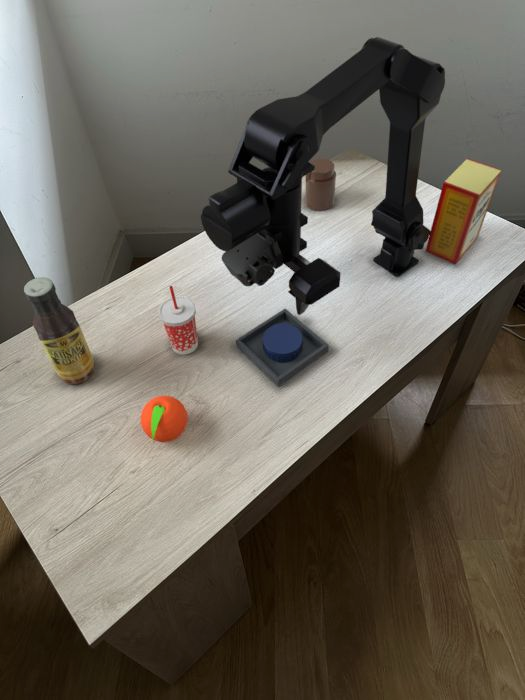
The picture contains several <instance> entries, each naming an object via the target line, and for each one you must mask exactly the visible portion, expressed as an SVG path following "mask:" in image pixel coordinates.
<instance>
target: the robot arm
mask: <svg viewBox="0 0 525 700" xmlns="http://www.w3.org/2000/svg"><path fill="white" fill-rule="evenodd" d="M445 85H446V71H445V67H444V66H442V65H441V63H439V62H437V61H433V60H430V59H427V58H424V57H421V56H419V55H416V54H413V53H411V51H410V50H408V49H406V48H405V46H404V45H403V44H401V43H397V42H395V41H391V40H389V39H385V38H382V37H379V36H376V37H371V38H368V39H367V40H366V41H365V42H364V43H363V46H362V48H361V49H360V50H359V51H358V52H356V53H355V54H353V55H352V56H351V57H350V58H348V59H347V60H346V61H344V62H343V63H342V64H340V65H339V66H338V67H336V68H335V69H334V70H332V71H331V72H330V73H328V74H327V75H326V76H325V77H323V78H321V80H319V81H318V82H316V83H315V84H314V85H313V86H311V87H310V88H309V89H307V90H306V91H305V92H302V93H300V94H298V95H297V96H296V95H295V96H289V97H284V98H278V99H275V100H274V101H272V102H269V103H267V104H265V105H264V106H261V107H260V108H258V109H257V110H255V111H254V112H253V113H252V114H251V115H250V116H249V118H248V119H247V121H246V124H245V128H244V130H243V133H242V136H241V138H240V140H239V142H238V145H237V148H236V150H235V152H234V155H233V158H232V161H231V163H230V166H229V167H228V171H227V172H228V174H229V175H231V176H233V177H235V178H236V183H234V184H233V185H231V186H229V187H227V188H225V189H223V190H220V191H217V192H215V193H213V194H211V195H209V197H208V203H209V204H207V205H205V206H204V207H203V208H202V211H201V215H200V221H201V225H202V227H203V230H204V232H205V234H206V235H207V237H208V239H209V240H210V241H211V243H212V244H213V245H214V246H215V247H216V248H217V249H219V250H221V251H223V253H222V255H221V261H222V263H223V264H224V266H225V268H226V269H227V271H228V272H229V274H230V275H231V276H233V277H234V278H235V279H236V280H238V282H240V283H241V285H243V286H245V287H252V286H253V285H256V286H259V287H260V286H264V285H265V284H266V283H267V282H268V281H269V280H271V278H272V277H273V276H274V275H275V271H276V270H277V269H279V268H280V267H282V266H283V265H284V266H286V267H287V268H288V269H290V270H291V271H292V272H293V273H292V275H291V277H290V278H289V280H288V288H289V290H288V291H287V293H288V294H289V295H291V296H292V297H293V298H294V299H295V309H296V314H297V315H298V316H301V315H302V314H304V313H305V312H306V310H307V309H308V307H310V306H311V305H313V304H315V303H317V302H318V301H320V300H321V299H323V298H324V297H325V296H328V295H329V294H331V293H332V292H334V291H335V290H336V289H338V288H340V285H341V271H339V270H338V269H336V268H335V267H334V266H333V265H331V264H329V262H327V261H326V260H324V259H323V258H321V257H317V258H316V259H314V260H312V261H310V260H308V259H307V258H306V257H304V256H303V255H301V252H302V251H304V250H306V249H307V248H308V241H306V240H305V239H304V238H302V227H304V226H306V225H308V223H309V217H308V216H307V215H305V214H304V213H303V212H302V201H303V199H302V195H303V193H302V192H303V178H304V177H306V175H307V174H308V173H310V172H312V171H313V170H314V169H315V166H314V165H313V164H311V163H310V161H311V160H312V159H313V157H315V156H316V155H317V153H319V151H320V148H321V145H322V140H323V137H324V135H325V134H326V133H327V132H329V130H330V129H331V128H333V127H334V126H335V125H336V124H337V123H338V122H340V121H341V120H343V118H344V117H346V116H347V115H349V114H350V113H351V112H353V110H355V109H357V107H359V106H360V105H361V104H363V102H365V101H366V100H367V99H368V98H370V97H371V96H373V95H374V94H375V93H377V91H379V103H380V105H381V108H382V109H383V111H384V113H385V115H386V117H387V119H388V121H389V131H388V132H389V133H388V149H387V165H386V179H385V180H386V181H385V196H384V198H383V200H381V201H380V202H379V203H378V205H376V207H375V208H373V209H372V211H371V215H372V219H371V223H370V225H371V226H372V227H373V229H374V230H375V233H376V234H378V235H380V236H382V237H384V238H383V240H382V244H381V248H380V253H379V254H377V255H375V257H373V258H372V261H373V263H375V264H376V265H378V266H379V267H380V268H382V269H384V271H386V272H388V273H390V274H391V275H392V276H393V277H396V278H399V277H401V276H402V275H404V274H405V273H406V272H408V271H409V270H411V269H412V268H414V267H415V266H417V265H418V264H419V262H420V260H419V259H418V258H417V257H415V256H414V255H415V251H422V250H423V249H424V247H425V243H427V242H428V239H429V235H430V233H431V229H429V228H428V227H427V226H425V225H424V209H423V207H422V205H421V202H420V201H419V199H418V197H417V189H418V181H419V173H420V165H421V158H422V157H421V155H422V148H423V142H424V141H423V140H424V131H425V125H426V119H427V118H428V117H429V115H430V114H431V113H433V111H434V109H436V107H437V106H438V105H439V104H440V100H441V96H442V93H443V91H444V89H445ZM252 159H255V160H257V161H259V162H260V163H262V164H264V165H266V167H265V168H263V169H261V168H259V167H257V166H256V165H255V164H253V163H250V162H251V161H252Z"/></svg>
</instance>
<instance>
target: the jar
mask: <svg viewBox="0 0 525 700" xmlns="http://www.w3.org/2000/svg"><path fill="white" fill-rule="evenodd" d="M309 163H311V164H313V165H314V166H315V169H314V170H313V171H312V172H310V173H308V174H307V175H305V181H304V182H305V185H304V187H305V188H304V204H305V206H306V207H307V208H308V209H310V210H312V211H316V212H322V211H323V212H325V211H327V210H330V209H331V208H332V207H333V206H334V204H335V194H336V182H337V173H336V170H335V163H334V162H333V161H332V160H331V159H329V158H323V157H319V158H314V159H311V160H310V161H309Z"/></svg>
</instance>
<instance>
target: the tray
mask: <svg viewBox="0 0 525 700" xmlns="http://www.w3.org/2000/svg"><path fill="white" fill-rule="evenodd" d="M282 323H284V324H290V325H293V326H295V327H296V328H298V329H299V331H300V332H301V334H302V338H303V348H302V351H301V354H300V355H299V356H298V357H297V358H296V359H294V360H292V361H289V362H284V363H283V362H276V361H273V360H271V359H270V358H268V357H267V356H266V354H265V352H264V350H263V335H264V333H265V331H266V330H267V329H268V328H269V327H271V326H273V325H276V324H282ZM235 346H236V347H235V348H237V350H239V351H240V352H241V353H242V354H243V355H244V356H245V357H246V358H247V359H248V360H249V361H250V362H251V363H252V364H253V365H254V366H255V367H256V368H257V369H258V370H259V371H260V372H262V373H263V374H264V375H265V377H267V378H268V379H269V381H271V382H272V383H273V384H274V385H275V386H276V387H277V388H279V387H281V386H282V385H283V384H285V383H287V382H289V380H291V379H292V378H293V377H295V376H296V375H298V374H299V373H300V372H302V371H303V370H305V369H306V368H307V367H309V366H310V365H312V364H313V363H315V362H316V361H317V360H319V359H320V358H322V357H323V356H325V355H326V354H327V353H328V352H329V344H328V343H327V342H326V341H325V340H323V339H322V338H321V337H320V336H319V335H318V334H316V333H315V332H314V331H313V330H312V329H311V328H309V327H308V326H307V325H306V324H304V323H303V322H302V321H301V320H300V319H298V317H296V316H295V315H294V314H292V313H291V311H289V310H288V309H287V308H283V309H282V310H280V311H278V312H277V313H276V314H274V315H272V316H271V317H269V318H268V319H266V320H264V321H263V322H261V323H260V324H258V325H257V326H255V327H254V328H252V329H251V330H248V331H247V332H246V333H244V334H243V335H241V336H240V337H238V338H237V339H235Z"/></svg>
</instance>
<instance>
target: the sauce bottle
mask: <svg viewBox="0 0 525 700" xmlns="http://www.w3.org/2000/svg"><path fill="white" fill-rule="evenodd" d="M56 290H57V289H56V286H55V284H54V282H53V280H52V279H51V278H49V277H45V276H40V277H39V276H38V277H35V278H33V279H30V280H29V281H28V282H27V283H26V284H25V285H24V287H23V292H24V295H25V298H26V299H27V301H29V302H30V304H31V305H32V308H33V311H34V316H33V320H32V326H33V329H34V330H35V332H36V334H37V337H38V340H39V342H40V344H41V345H42V348H43V349H44V352H45V353H46V355H47V357H48V359H49V361H50V363H51V365H52V367H53V369H54V371H55V374H56V375H57V376H58V377H59V379H60V380H61V381H62V382H63V383H65V384H68V385H79V384H82V383H84V382H86V381H87V380H88V379H90V378H91V377H92V376H93V374H94V373H95V361H94V357H93V354H92V353H91V351H90V348H89V347H90V346H89V345H88V342H87V339H86V337H85V335H84V333H83V330H82V328H81V326H80V324H79V322H78V320H77V319H76V315H75V312H74V310H73V309H71V308H69V307H68V306H67V305H65V304H63V303H62V301H61V300H60V298H59V296H58V294H57V291H56Z"/></svg>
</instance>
